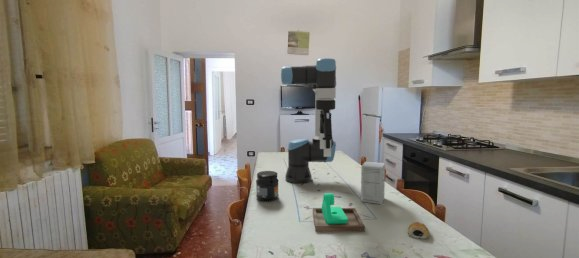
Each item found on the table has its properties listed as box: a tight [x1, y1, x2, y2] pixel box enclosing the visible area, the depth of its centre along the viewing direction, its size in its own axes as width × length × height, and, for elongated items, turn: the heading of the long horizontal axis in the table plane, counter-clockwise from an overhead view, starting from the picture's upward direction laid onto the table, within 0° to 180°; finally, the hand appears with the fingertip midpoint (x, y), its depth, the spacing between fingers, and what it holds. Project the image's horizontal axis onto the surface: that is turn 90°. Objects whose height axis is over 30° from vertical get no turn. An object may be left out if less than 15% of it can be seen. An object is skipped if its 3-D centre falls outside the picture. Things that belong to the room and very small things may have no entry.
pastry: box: [407, 221, 430, 240], centre depth 99 cm, size 9×7×4 cm
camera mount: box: [321, 192, 348, 224], centre depth 108 cm, size 12×8×10 cm, turn 3°
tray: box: [312, 207, 366, 233], centre depth 108 cm, size 16×17×2 cm
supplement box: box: [360, 161, 386, 205], centre depth 130 cm, size 10×9×17 cm
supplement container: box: [255, 170, 279, 202], centre depth 133 cm, size 10×10×12 cm
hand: (325, 152), depth 114 cm, fingers open, 13 cm apart
